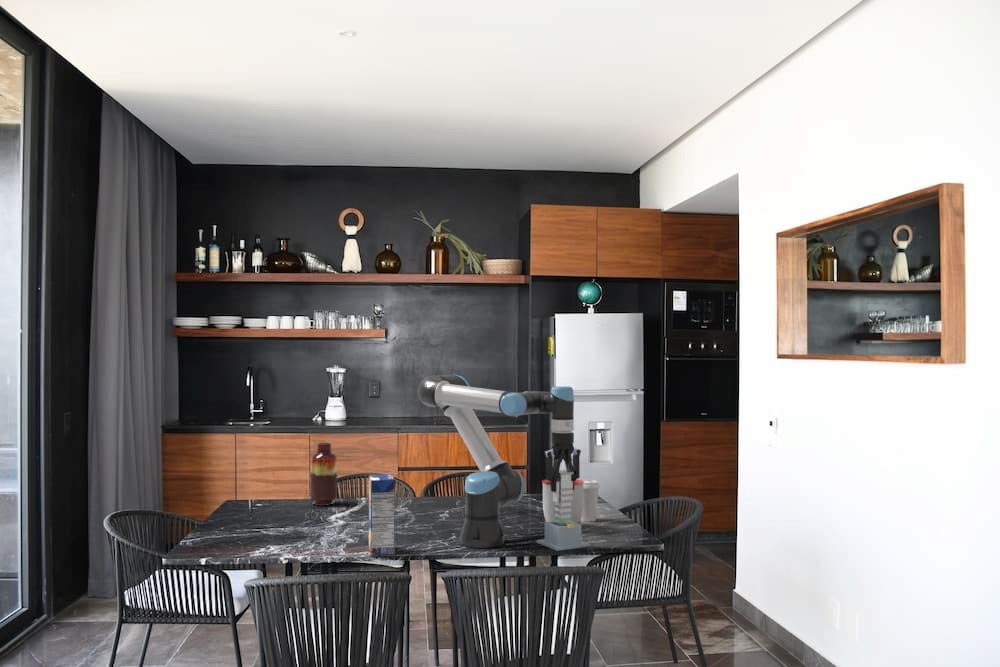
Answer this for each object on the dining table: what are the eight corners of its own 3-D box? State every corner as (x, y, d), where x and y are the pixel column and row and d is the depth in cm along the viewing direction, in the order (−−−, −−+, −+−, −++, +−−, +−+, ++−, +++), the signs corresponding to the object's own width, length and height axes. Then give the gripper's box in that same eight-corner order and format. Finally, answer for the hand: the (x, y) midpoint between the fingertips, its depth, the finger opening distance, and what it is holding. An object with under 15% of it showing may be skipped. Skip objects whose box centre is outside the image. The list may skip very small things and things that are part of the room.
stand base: (557, 550, 252) (557, 526, 252) (536, 542, 263) (536, 519, 264) (589, 546, 258) (589, 522, 258) (568, 538, 270) (568, 515, 270)
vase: (328, 500, 340) (329, 441, 340) (341, 504, 331) (342, 443, 332) (305, 503, 332) (306, 443, 333) (318, 507, 324) (319, 445, 325)
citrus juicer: (576, 520, 298) (576, 468, 299) (589, 530, 281) (589, 475, 282) (536, 522, 295) (536, 469, 296) (547, 532, 278) (547, 476, 279)
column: (560, 526, 257) (560, 472, 258) (552, 523, 262) (552, 470, 263) (573, 524, 260) (573, 471, 260) (565, 521, 265) (564, 469, 265)
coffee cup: (599, 523, 294) (598, 483, 295) (574, 522, 296) (573, 482, 296) (600, 517, 303) (600, 479, 304) (576, 516, 305) (576, 478, 306)
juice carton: (368, 547, 257) (368, 474, 257) (391, 545, 258) (391, 474, 259) (371, 556, 245) (371, 480, 246) (394, 554, 247) (395, 479, 248)
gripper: (546, 434, 254) (546, 505, 254) (590, 431, 263) (590, 500, 262) (534, 432, 261) (534, 501, 260) (578, 429, 269) (578, 496, 269)
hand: (562, 500), depth 261 cm, fingers closed on column, 5 cm apart
